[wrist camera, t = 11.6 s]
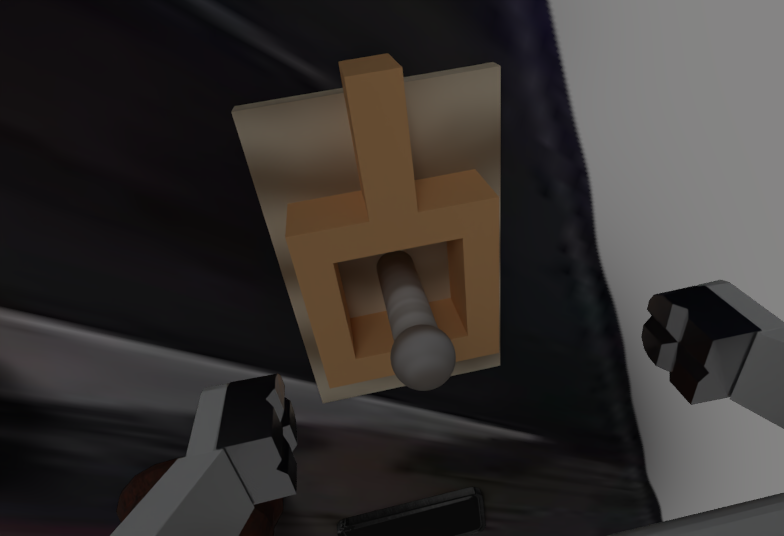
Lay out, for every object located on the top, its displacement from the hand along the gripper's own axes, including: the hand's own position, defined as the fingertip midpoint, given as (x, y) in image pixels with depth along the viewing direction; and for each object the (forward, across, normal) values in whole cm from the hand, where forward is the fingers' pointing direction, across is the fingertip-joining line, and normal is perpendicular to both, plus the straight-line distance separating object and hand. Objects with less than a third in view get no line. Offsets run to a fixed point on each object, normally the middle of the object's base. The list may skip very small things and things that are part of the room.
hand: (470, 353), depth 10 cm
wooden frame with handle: (+18, 0, +6) cm, 19 cm away
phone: (+19, +2, +42) cm, 46 cm away
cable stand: (+19, 0, +9) cm, 21 cm away
